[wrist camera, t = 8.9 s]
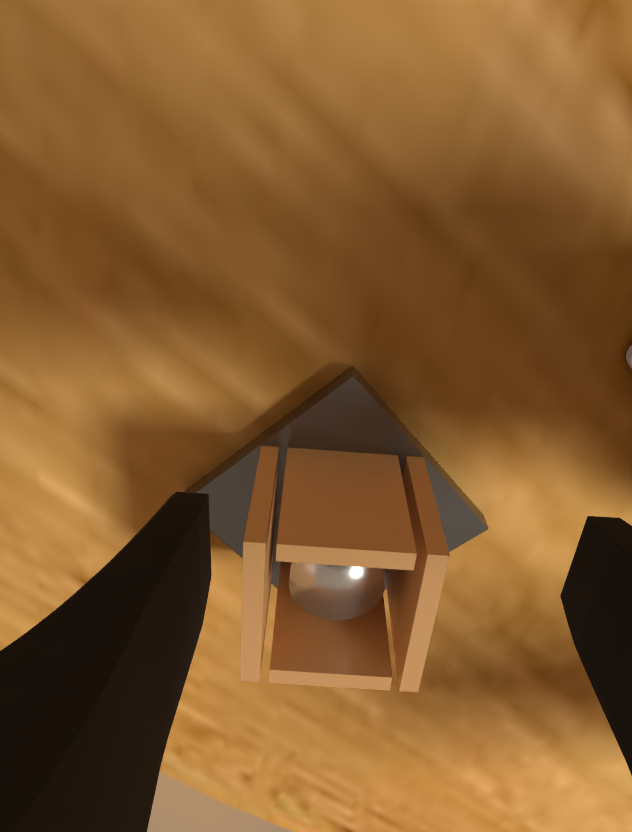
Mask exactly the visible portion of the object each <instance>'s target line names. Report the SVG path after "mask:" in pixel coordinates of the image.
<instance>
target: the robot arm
mask: <svg viewBox="0 0 632 832" xmlns="http://www.w3.org/2000/svg"><path fill="white" fill-rule="evenodd" d="M626 360H627V363H628V364H629V366H630V367H631V369H632V345H631V346H630V347H629V349H628V351H627V353H626ZM210 581H211V549H210V519H209V494H204V493H187V492H176V493H175V494H173V495H172V496H171V497H170V498H169V499H168V500H167V501H166V503H165V504H164V505H163V506H162V507H161V508H160V509H159V510H158V512H157V513H156V514H155V515H154V516H153V517H152V518H151V519H150V520H149V521H148V523H147V524H146V525H145V526H144V527H143V528H142V529H141V530H140V531H139V532H138V533H137V534H136V535H135V536H134V537H133V538H132V539H131V541H130V542H129V543H128V544H127V545H126V546H125V547H124V548H123V549H122V550H121V551H120V552H119V553H118V554H117V555H116V556H115V557H114V558H113V559H112V560H111V561H110V562H109V563H108V564H107V565H105V566H104V567H103V568H102V569H101V570H100V571H99V572H98V573H97V574H96V575H95V576H93V577H92V578H91V579H90V580H89V581H88V582H87V583H86V584H85V585H84V586H82V587H81V588H80V589H79V590H78V591H77V592H76V593H75V594H74V595H72V596H71V597H70V598H69V599H68V600H67V601H65V602H64V603H63V604H62V605H61V606H59V607H58V608H57V609H56V610H55V611H53V612H52V613H51V614H50V615H48V616H47V617H46V618H45V619H43V620H42V621H41V622H39V623H38V624H37V625H36V626H34V627H33V628H32V629H30V630H29V631H28V632H26V633H25V634H24V635H22V636H21V637H20V638H18V639H17V640H16V641H14V642H13V643H11V644H10V645H8V646H7V647H6V648H4V649H3V650H1V651H0V832H147V828H148V823H149V818H150V814H151V809H152V803H153V799H154V795H155V790H156V785H157V780H158V776H159V771H160V766H161V762H162V758H163V754H164V751H165V747H166V743H167V739H168V736H169V733H170V729H171V726H172V723H173V720H174V716H175V713H176V710H177V707H178V703H179V700H180V697H181V694H182V690H183V687H184V684H185V681H186V677H187V674H188V671H189V668H190V664H191V661H192V658H193V655H194V651H195V648H196V645H197V641H198V638H199V635H200V631H201V628H202V624H203V619H204V614H205V609H206V603H207V598H208V592H209V586H210ZM561 600H562V603H563V607H564V611H565V614H566V618H567V622H568V625H569V628H570V631H571V635H572V638H573V641H574V644H575V647H576V649H577V652H578V654H579V657H580V659H581V661H582V664H583V666H584V668H585V670H586V673H587V675H588V677H589V680H590V682H591V684H592V686H593V689H594V691H595V693H596V695H597V698H598V700H599V702H600V704H601V706H602V709H603V711H604V713H605V715H606V718H607V720H608V722H609V724H610V727H611V729H612V731H613V733H614V735H615V738H616V740H617V742H618V744H619V747H620V749H621V751H622V753H623V756H624V758H625V760H626V762H627V765H628V767H629V770H630V772H631V775H632V526H631V525H630V524H628V523H627V522H625V521H624V520H622V519H620V518H611V517H594V516H588V517H587V520H586V523H585V526H584V528H583V531H582V534H581V537H580V540H579V543H578V546H577V549H576V552H575V555H574V558H573V561H572V564H571V567H570V569H569V572H568V575H567V578H566V581H565V584H564V587H563V590H562V593H561Z"/></svg>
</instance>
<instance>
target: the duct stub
mask: <svg viewBox="0 0 632 832" xmlns="http://www.w3.org/2000/svg"><path fill="white" fill-rule="evenodd" d="M261 446H273V447H279V455H278V474H277V493H276V513H275V532H274V551H273V571H272V579H271V583H272V584H273V585H274V586H275V587H277V588H278V584H279V574H280V564H281V561H276V548H277V537H278V528H279V519H280V511H281V502H282V493H283V484H284V475H285V466H286V458H287V449H288V448H301V449H315V450H329V451H343V452H357V453H371V454H385V455H398V459H399V464H400V469H401V474H402V479H403V474H404V468H405V462H406V456H412V457H424V460H425V463H426V467H427V471H428V475H429V479H430V482H431V486H432V490H433V494H434V498H435V501H436V505H437V509H438V513H439V516H440V520H441V524H442V528H443V532H444V535H445V539H446V543H447V547H448V551H449V552H450V551H452V550H453V549H455V548H457V547H458V546H460V545H462V544H464V543H465V542H467V541H469V540H470V539H472V538H474V537H475V536H477V535H479V534H481V533H482V532H484V531H486V530H487V529H488V526H487V523H486V520H485V518H484V515H483V514H482V513H481V512H480V511H479V510H478V508H477V507H476V506H475V505H474V504H473V503H472V502H471V500H470V499H469V498H468V497H467V496H466V495H465V494H464V492H463V491H462V490H461V489H460V488H459V487H458V486H457V485H456V483H455V482H454V481H453V480H452V479H451V478H450V477H449V475H448V474H447V473H446V472H445V471H444V470H443V469H442V467H441V466H440V465H439V464H438V463H437V462H436V461H435V460H434V458H433V457H432V456H431V455H430V454H429V453H428V452H427V450H426V449H425V448H424V447H423V446H422V445H421V444H420V442H419V441H418V440H417V439H416V438H415V437H414V436H413V435H412V433H411V432H410V431H409V430H408V429H407V428H406V427H405V425H404V424H403V423H402V422H401V421H400V420H399V419H398V417H397V416H396V415H395V414H394V413H393V412H392V411H391V410H390V408H389V407H388V406H387V405H386V404H385V403H384V402H383V400H382V399H381V398H380V397H379V396H378V395H377V394H376V392H375V391H374V390H373V389H372V388H371V387H370V386H369V385H368V383H367V382H366V381H365V380H364V379H363V378H362V377H361V375H360V374H359V373H358V372H357V371H356V370H355V369H354V367H353V366H352V367H351V368H349V369H348V370H347V371H345V372H344V373H343V374H341V375H340V376H339V377H337V378H336V379H335V380H333V381H332V382H331V383H329V384H328V385H327V386H325V387H324V388H323V389H321V390H320V391H319V392H317V393H316V394H315V395H313V396H312V397H311V398H309V399H308V400H307V401H305V402H304V403H303V404H301V405H300V406H299V407H297V408H296V409H295V410H293V411H292V412H291V413H289V414H288V415H287V416H285V417H284V418H283V419H281V420H280V421H279V422H277V423H276V424H275V425H273V426H272V427H271V428H269V429H268V430H267V431H265V432H264V433H263V434H261V435H260V436H259V437H257V438H256V439H255V440H253V441H252V442H251V443H249V444H248V445H247V446H245V447H244V448H243V449H241V450H240V451H239V452H237V453H236V454H235V455H233V456H232V457H231V458H229V459H228V460H227V461H225V462H224V463H223V464H221V465H220V466H219V467H217V468H216V469H215V470H213V471H212V472H211V473H209V474H208V475H207V476H205V477H204V478H203V479H201V480H200V481H199V482H197V483H196V484H195V485H193V486H192V487H191V488H189V489H188V490H187V491H185V492H187V493H204V494H209V519H210V530H211V531H212V532H213V533H214V534H215V535H216V536H218V537H219V538H220V539H221V540H222V541H223V542H225V543H226V544H227V545H228V546H229V547H230V548H231V549H233V550H234V551H235V552H236V553H237V554H238V555H240V556H241V557H242V558H243V541H244V535H245V530H246V525H247V519H248V514H249V509H250V504H251V498H252V493H253V488H254V482H255V477H256V472H257V466H258V461H259V456H260V450H261ZM386 573H387V569H384V568H369V567H355V566H340V565H325V564H311V563H296V562H291V567H290V579H289V588H290V593H291V596H292V598H293V599H294V601H295V602H296V604H297V605H298V606H299V607H300V608H301V609H303V610H304V611H306V612H307V613H309V614H311V615H313V616H316V617H319V618H322V619H327V620H347V619H352V618H356V617H358V616H361V615H363V614H365V613H367V612H368V611H370V610H371V609H372V608H374V607H375V606H376V605H377V603H378V602H379V601H380V599H381V597H382V595H383V592H384V590H385V589H387V585H386Z"/></svg>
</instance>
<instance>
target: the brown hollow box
mask: <svg viewBox="0 0 632 832" xmlns="http://www.w3.org/2000/svg"><path fill="white" fill-rule="evenodd" d="M278 455H279V447H273V446H261V450H260V456H259V461H258V466H257V472H256V477H255V482H254V488H253V493H252V498H251V504H250V509H249V514H248V519H247V525H246V530H245V535H244V541H243V580H242V629H241V678H240V681H250V682H260V674H261V665H262V657H263V648H264V640H265V631H266V622H267V614H268V605H269V596H270V588H271V579H272V571H273V551H274V532H275V513H276V493H277V474H278ZM449 558H450V554H449V551H448V547H447V543H446V539H445V535H444V532H443V528H442V524H441V520H440V516H439V513H438V509H437V505H436V501H435V498H434V494H433V490H432V486H431V482H430V479H429V475H428V471H427V467H426V463H425V460H424V457H412V456H406V462H405V468H404V474H403V479H402V474H401V469H400V464H399V459H398V455H385V454H371V453H357V452H343V451H329V450H315V449H301V448H288V449H287V458H286V466H285V475H284V484H283V493H282V502H281V511H280V519H279V528H278V537H277V548H276V561H281V564H280V574H279V584H278V594H277V603H276V613H275V623H274V633H273V643H272V653H271V663H270V676H269V683H281V684H297V685H312V686H328V687H344V688H359V689H375V690H390V686H391V681H392V671H391V662H390V653H389V644H388V635H387V626H386V617H385V608H384V599H383V595H382V597H381V599H380V601H379V602H378V603H377V605H376V606H375V607H374V608H372V609H371V610H370V611H368V612H367V613H365V614H363V615H361V616H358V617H356V618H352V619H347V620H327V619H322V618H319V617H316V616H313V615H311V614H309V613H307V612H306V611H304V610H303V609H301V608H300V607H299V606H298V605H297V604H296V602H295V601H294V599H293V598H292V596H291V593H290V588H289V579H290V567H291V562H296V563H311V564H325V565H340V566H355V567H369V568H384V569H387V573H386V585H387V594H388V602H389V610H390V619H391V627H392V635H393V644H394V652H395V661H396V669H397V677H398V686H399V691H406V692H418V690H419V686H420V682H421V678H422V673H423V669H424V665H425V661H426V656H427V652H428V648H429V643H430V639H431V635H432V631H433V626H434V622H435V618H436V614H437V609H438V605H439V601H440V596H441V592H442V588H443V584H444V579H445V575H446V571H447V567H448V562H449Z"/></svg>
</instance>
